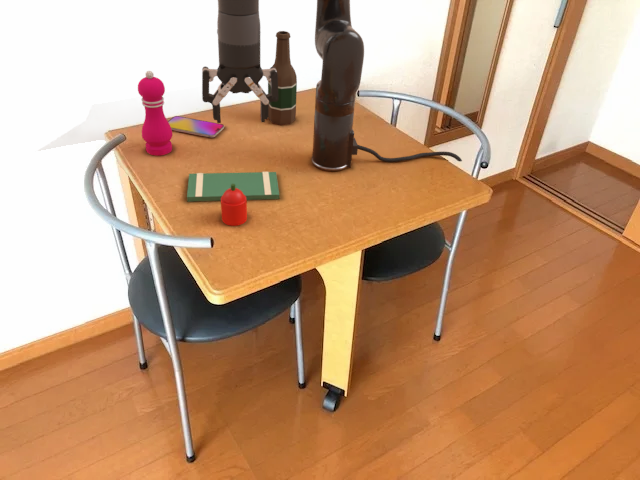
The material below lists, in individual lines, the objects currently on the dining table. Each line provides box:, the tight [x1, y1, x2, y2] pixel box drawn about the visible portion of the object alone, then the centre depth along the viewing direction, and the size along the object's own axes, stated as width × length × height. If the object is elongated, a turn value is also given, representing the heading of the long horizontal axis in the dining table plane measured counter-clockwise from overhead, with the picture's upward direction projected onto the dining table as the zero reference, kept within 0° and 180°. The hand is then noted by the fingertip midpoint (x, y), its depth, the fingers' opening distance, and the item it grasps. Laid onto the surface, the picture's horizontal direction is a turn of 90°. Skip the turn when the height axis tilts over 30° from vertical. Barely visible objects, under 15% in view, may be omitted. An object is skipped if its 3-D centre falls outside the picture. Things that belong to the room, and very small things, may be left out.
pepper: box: [220, 184, 248, 227], centre depth 113 cm, size 5×5×8 cm
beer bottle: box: [267, 30, 298, 126], centre depth 148 cm, size 8×8×24 cm
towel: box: [186, 171, 280, 203], centre depth 125 cm, size 20×10×1 cm, turn 98°
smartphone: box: [167, 115, 225, 139], centre depth 148 cm, size 7×1×15 cm
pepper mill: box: [137, 70, 173, 157], centre depth 131 cm, size 7×7×20 cm
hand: (241, 121), depth 108 cm, fingers open, 8 cm apart
